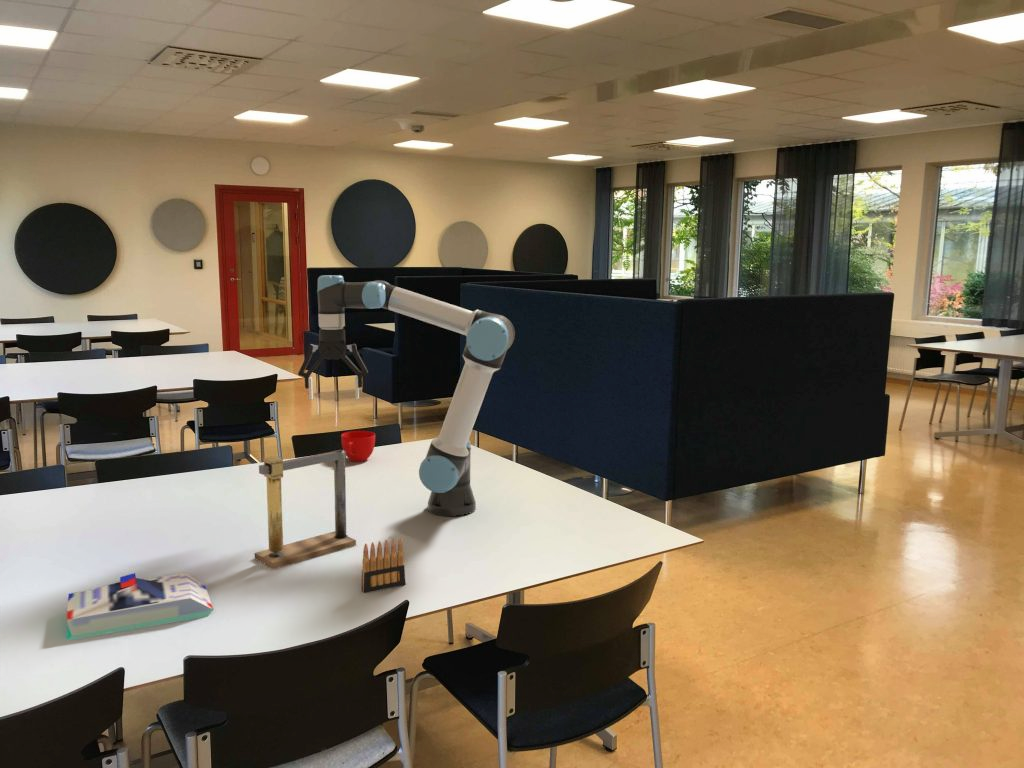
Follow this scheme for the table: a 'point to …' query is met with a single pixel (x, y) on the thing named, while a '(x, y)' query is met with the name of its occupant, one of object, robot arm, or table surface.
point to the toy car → (136, 604)
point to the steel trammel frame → (339, 481)
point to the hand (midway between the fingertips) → (334, 399)
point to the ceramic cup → (358, 445)
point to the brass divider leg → (274, 503)
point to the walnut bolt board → (304, 550)
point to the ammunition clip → (383, 567)
